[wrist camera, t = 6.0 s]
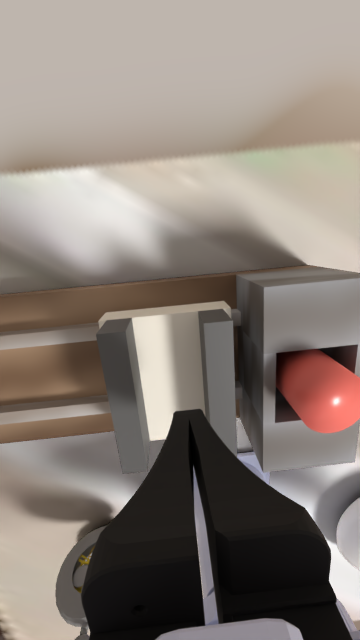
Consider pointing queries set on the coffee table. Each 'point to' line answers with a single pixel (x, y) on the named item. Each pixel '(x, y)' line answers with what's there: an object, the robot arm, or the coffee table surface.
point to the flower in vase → (350, 534)
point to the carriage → (167, 373)
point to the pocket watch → (75, 582)
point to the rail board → (233, 288)
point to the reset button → (318, 389)
